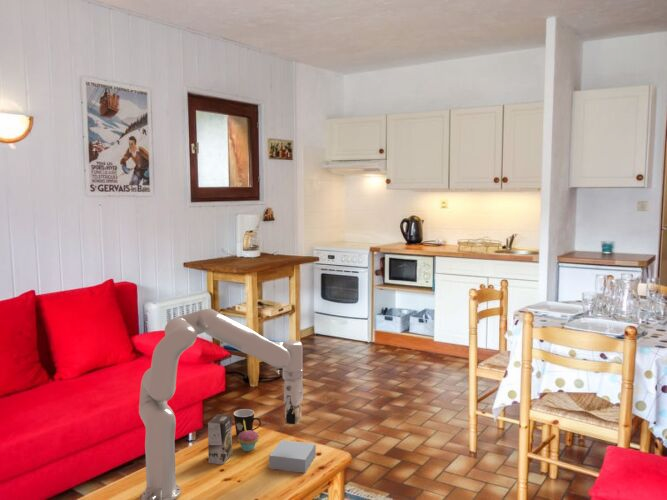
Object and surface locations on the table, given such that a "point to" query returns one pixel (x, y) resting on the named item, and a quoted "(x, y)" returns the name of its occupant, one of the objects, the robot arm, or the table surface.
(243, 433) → the cupcake
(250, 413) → the coffee mug
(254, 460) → the table surface
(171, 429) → the robot arm
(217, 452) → the coffee box
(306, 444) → the grey block
